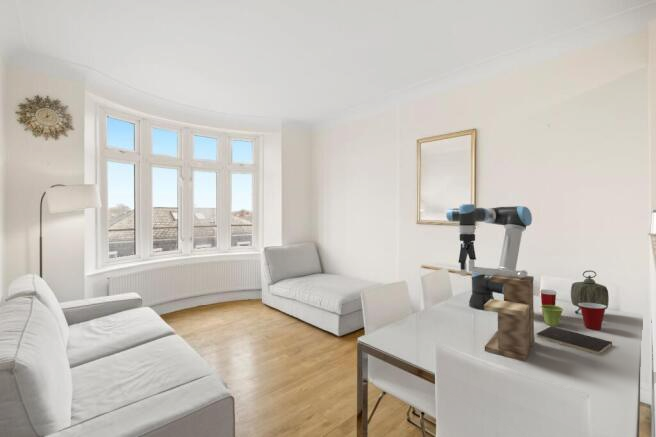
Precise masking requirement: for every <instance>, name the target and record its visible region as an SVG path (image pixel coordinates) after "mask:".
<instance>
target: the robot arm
mask: <svg viewBox="0 0 656 437" xmlns="http://www.w3.org/2000/svg"><path fill="white" fill-rule="evenodd" d="M446 219H447V220H448V221H449V222H453V223H454V222H459V224H458V226H459V229H458V230H459V241H460V242H463V243H460V251H459V256H458V260H457V262H458V264H460V265H459V266H460V271H459V273H460V276H462V277H463V276H464V277H467V275H468V274H467V263H466V262H467V258H469V259H468V272H471V276H470V278H471V295H470V298H469V301H468V302H469V304H468V305H469V307H470V308H473V309H477V310H483V311H484V304H486V303H487V302H488V301H489V300H490V299H495V297H494V295H493V294H494V293H495V294H501V295H504V283H499V282H491V276H493V275H484V274H474V273H473V271H472V268H473V267H475V260H477V258H476V252H475V251H476V250H475V244H474V242H475V241H476V234H475V233H476V229H477V227H476V223H477V222H480V223H486V224H492V225H497V226H498V225H500V226H503V228H504V229H505V232H504V239H503V242H502V243H503V245H502V248H501V255H500V258H499V259H500V260H499V265H498V267H497V268H496V269H505V270H516V271H517V264H518V260H519V259H518V258H519V254H520V246H521V241H522V236H523V235H522V234H523V232H525V231H526V229H527V227H529V226H531V224H532V221H533V214H532V212H531V210H530V208H529V207H527V206H523V205H522V206H521V205H518V206H516V205H514V206H499V207H498V206H496V207H490V208H489V207H487V208H485V207H476V206H475V204H471V203H465V204H460V205H459V207H458V208H450V209H448V210H447V211H446Z"/></svg>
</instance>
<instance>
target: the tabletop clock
mask: <svg viewBox="0 0 656 437" xmlns="http://www.w3.org/2000/svg"><path fill="white" fill-rule="evenodd" d="M590 272H591V273H594V275H593V276H592V275H590V274H589V275H588V276H585V274H586V273H590ZM582 276H583V278H585V279H584V280H583V281H576V282H573V283H572V284H571V288H570V299H571V303H572V305H573V306H574V307H577V308H578V309H577V310H574V313H575V314H579V311H581V308H580V306H579V305H578V304H579V303H595V304H601V305H605V306H607V307H606V308H605V310H606V309H608V307H609V301H610V300H609V296H610V295H609V291H608V288H607V286H606V285H602V284H601V283H596V281H595V280H594V279H593V278H596V277H597V273H596V271H594V270H585V271H584V272H583V273H582Z"/></svg>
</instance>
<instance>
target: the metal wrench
mask: <svg viewBox="0 0 656 437" xmlns="http://www.w3.org/2000/svg"><path fill="white" fill-rule="evenodd" d="M472 271H473V273H474V274H484V275H493V276H503V277H512V278H518V279H520V280H522V279H526V278H527V276H528V271H527V270H525V269H523V270H517V269H516V270H505V269H497V268H491V267H480V266H474V267H473V268H472Z"/></svg>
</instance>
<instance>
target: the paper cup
mask: <svg viewBox="0 0 656 437" xmlns="http://www.w3.org/2000/svg"><path fill="white" fill-rule="evenodd" d="M539 293H540V300H541V301H540V302H541V306H542V305H553V306H556V303H557V302H556V300H557V298H556V297H557V292H556V290H554V289H552V288H551V289H550V288H542V289H540V290H539ZM541 311H542V312H541V313H542V315H543V316H544V314H543V310H542V309H541Z"/></svg>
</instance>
